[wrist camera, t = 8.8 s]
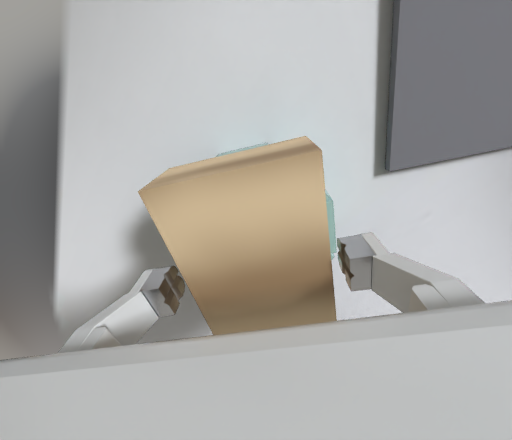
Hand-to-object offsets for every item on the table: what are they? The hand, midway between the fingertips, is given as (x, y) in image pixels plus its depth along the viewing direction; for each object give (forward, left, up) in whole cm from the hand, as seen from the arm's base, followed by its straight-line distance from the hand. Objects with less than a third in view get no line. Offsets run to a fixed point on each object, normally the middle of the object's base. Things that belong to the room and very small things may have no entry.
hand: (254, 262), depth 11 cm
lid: (0, 0, -2) cm, 2 cm away
